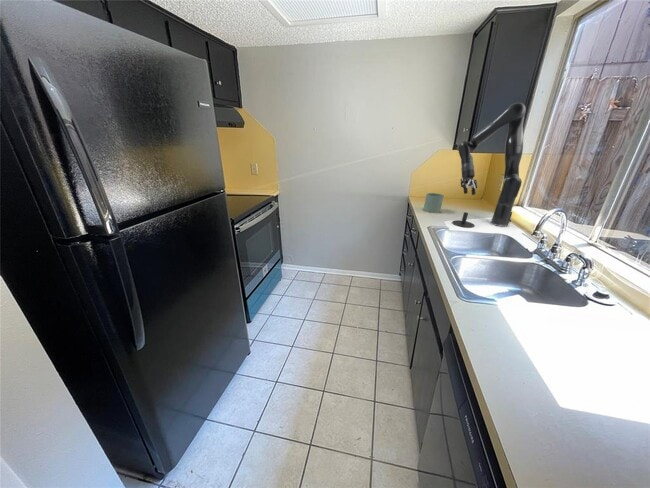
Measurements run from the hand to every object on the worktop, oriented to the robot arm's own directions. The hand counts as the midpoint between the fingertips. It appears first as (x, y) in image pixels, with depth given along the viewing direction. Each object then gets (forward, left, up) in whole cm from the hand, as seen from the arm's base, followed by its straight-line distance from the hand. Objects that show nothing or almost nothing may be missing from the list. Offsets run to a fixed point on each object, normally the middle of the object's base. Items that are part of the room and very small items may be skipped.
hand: (469, 194), depth 174 cm
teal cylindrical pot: (+14, -24, -19) cm, 34 cm away
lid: (+4, +9, -19) cm, 21 cm away
